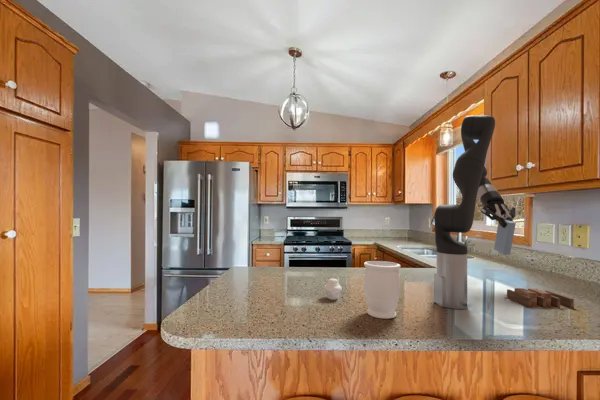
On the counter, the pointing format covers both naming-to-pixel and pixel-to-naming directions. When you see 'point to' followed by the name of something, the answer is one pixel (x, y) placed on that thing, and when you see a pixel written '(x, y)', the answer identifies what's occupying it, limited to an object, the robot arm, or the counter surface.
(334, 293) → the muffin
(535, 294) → the offcut
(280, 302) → the counter surface
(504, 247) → the tall board
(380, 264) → the jar
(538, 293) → the offcut
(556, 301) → the rack
